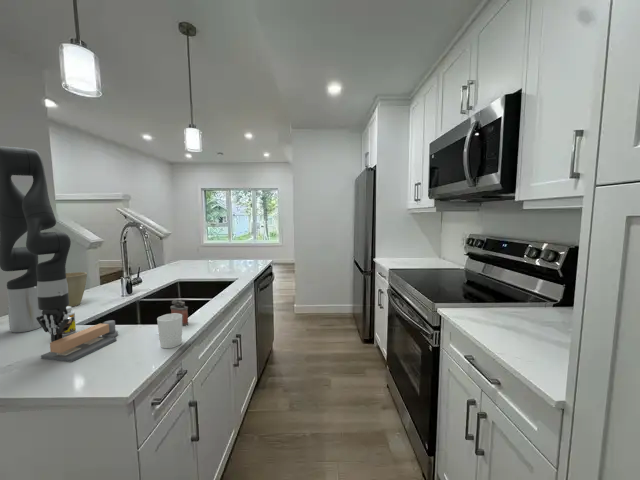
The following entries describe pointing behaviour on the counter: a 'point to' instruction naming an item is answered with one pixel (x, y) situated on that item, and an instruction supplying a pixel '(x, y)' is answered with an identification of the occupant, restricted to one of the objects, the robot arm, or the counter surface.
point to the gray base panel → (82, 348)
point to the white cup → (170, 330)
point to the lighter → (180, 311)
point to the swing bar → (82, 337)
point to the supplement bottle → (72, 326)
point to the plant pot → (76, 287)
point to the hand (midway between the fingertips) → (57, 344)
